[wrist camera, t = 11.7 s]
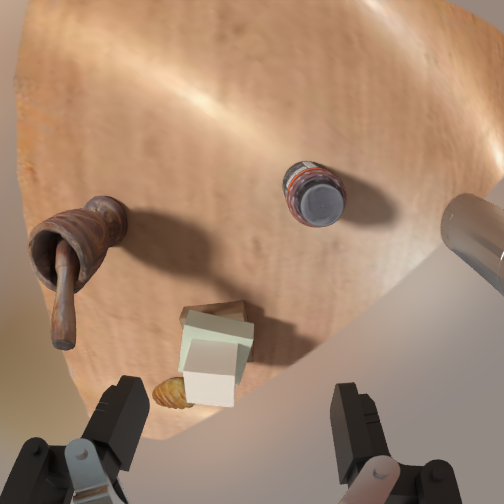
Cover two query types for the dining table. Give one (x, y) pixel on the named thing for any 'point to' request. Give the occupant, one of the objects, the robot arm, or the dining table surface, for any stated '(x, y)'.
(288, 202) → the supplement bottle
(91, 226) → the mortar and pestle
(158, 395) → the pastry
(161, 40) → the dining table surface
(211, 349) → the cream block
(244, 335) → the upper block
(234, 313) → the lower block
